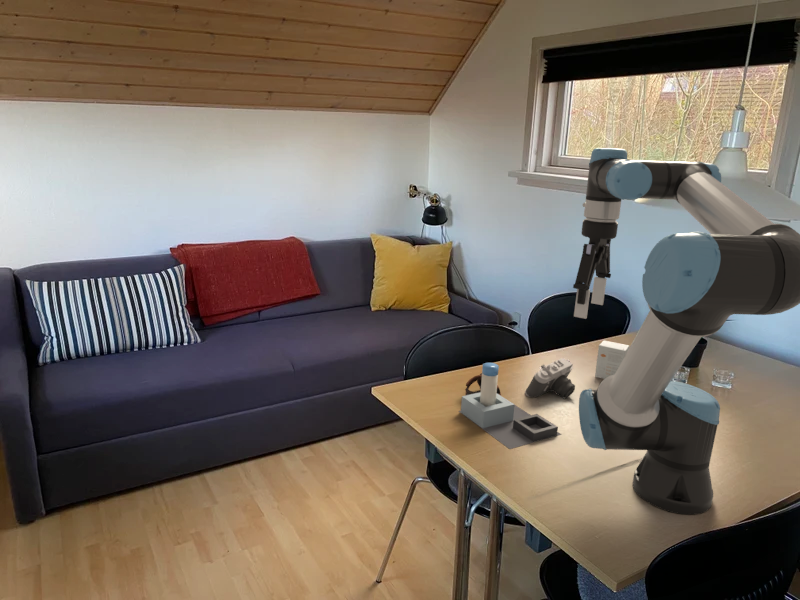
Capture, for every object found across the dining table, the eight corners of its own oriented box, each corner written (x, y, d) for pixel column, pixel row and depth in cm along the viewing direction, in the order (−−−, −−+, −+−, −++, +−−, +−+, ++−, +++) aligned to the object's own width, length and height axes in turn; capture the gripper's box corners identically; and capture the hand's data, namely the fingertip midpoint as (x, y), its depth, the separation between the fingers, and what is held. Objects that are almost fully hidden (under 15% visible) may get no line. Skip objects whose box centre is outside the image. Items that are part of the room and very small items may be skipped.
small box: (625, 377, 181) (630, 345, 178) (621, 383, 177) (626, 350, 174) (599, 371, 185) (603, 339, 183) (594, 377, 181) (598, 344, 178)
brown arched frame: (506, 410, 158) (495, 388, 154) (473, 421, 161) (461, 399, 157) (501, 382, 169) (490, 360, 165) (470, 392, 171) (459, 371, 167)
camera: (520, 391, 166) (535, 365, 160) (552, 375, 176) (568, 350, 170) (544, 414, 161) (560, 388, 155) (576, 396, 171) (593, 371, 165)
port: (513, 420, 150) (514, 404, 149) (482, 428, 145) (484, 411, 144) (490, 405, 158) (491, 389, 157) (460, 412, 153) (461, 396, 152)
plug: (497, 418, 151) (502, 367, 147) (485, 421, 149) (489, 369, 145) (488, 411, 154) (492, 361, 150) (475, 414, 152) (479, 364, 148)
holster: (556, 435, 143) (557, 426, 143) (533, 441, 140) (534, 433, 139) (536, 421, 150) (537, 413, 149) (512, 427, 146) (513, 419, 146)
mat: (561, 437, 144) (561, 434, 144) (509, 452, 136) (509, 449, 136) (506, 402, 162) (506, 399, 161) (458, 413, 154) (458, 411, 154)
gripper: (599, 212, 144) (588, 296, 150) (566, 223, 124) (555, 320, 130) (631, 215, 140) (618, 301, 146) (602, 227, 120) (589, 326, 126)
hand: (588, 310), depth 138 cm, fingers open, 13 cm apart
